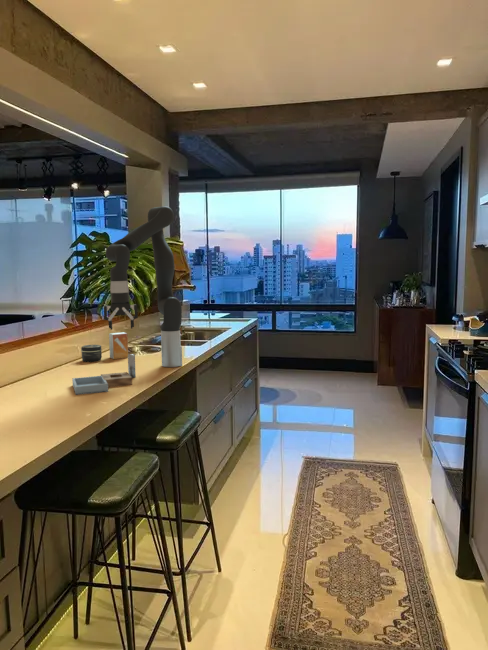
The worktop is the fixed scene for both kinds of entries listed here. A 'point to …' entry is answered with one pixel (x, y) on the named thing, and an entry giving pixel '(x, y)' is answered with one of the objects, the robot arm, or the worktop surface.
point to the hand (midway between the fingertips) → (121, 328)
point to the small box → (118, 345)
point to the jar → (91, 353)
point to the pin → (131, 365)
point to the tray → (89, 385)
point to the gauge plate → (117, 379)
